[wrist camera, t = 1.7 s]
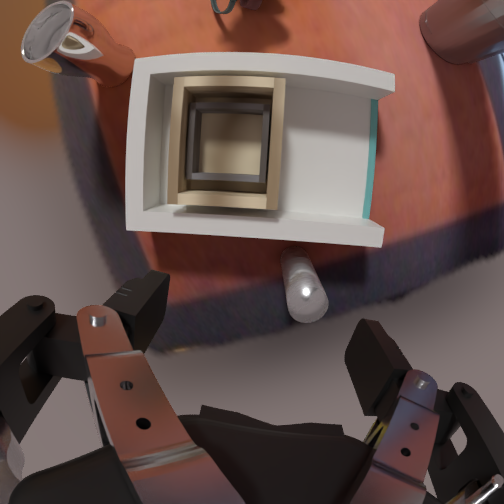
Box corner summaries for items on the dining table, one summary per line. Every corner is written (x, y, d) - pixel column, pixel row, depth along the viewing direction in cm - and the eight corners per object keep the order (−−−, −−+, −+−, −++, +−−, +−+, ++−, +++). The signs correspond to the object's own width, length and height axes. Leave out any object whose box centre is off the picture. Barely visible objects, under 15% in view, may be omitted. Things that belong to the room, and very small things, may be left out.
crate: (281, 93, 28) (285, 78, 22) (274, 201, 32) (277, 210, 26) (189, 91, 28) (174, 77, 23) (184, 196, 32) (167, 204, 26)
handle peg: (309, 247, 35) (331, 287, 23) (306, 273, 36) (324, 323, 24) (281, 244, 35) (290, 285, 23) (279, 271, 36) (285, 322, 24)
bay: (373, 87, 29) (394, 74, 23) (362, 232, 34) (381, 247, 28) (155, 74, 29) (134, 59, 23) (148, 218, 35) (126, 230, 28)
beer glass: (106, 41, 28) (40, 1, 13) (148, 47, 28) (88, -4, 14) (85, 86, 30) (9, 64, 15) (126, 95, 30) (52, 67, 16)
